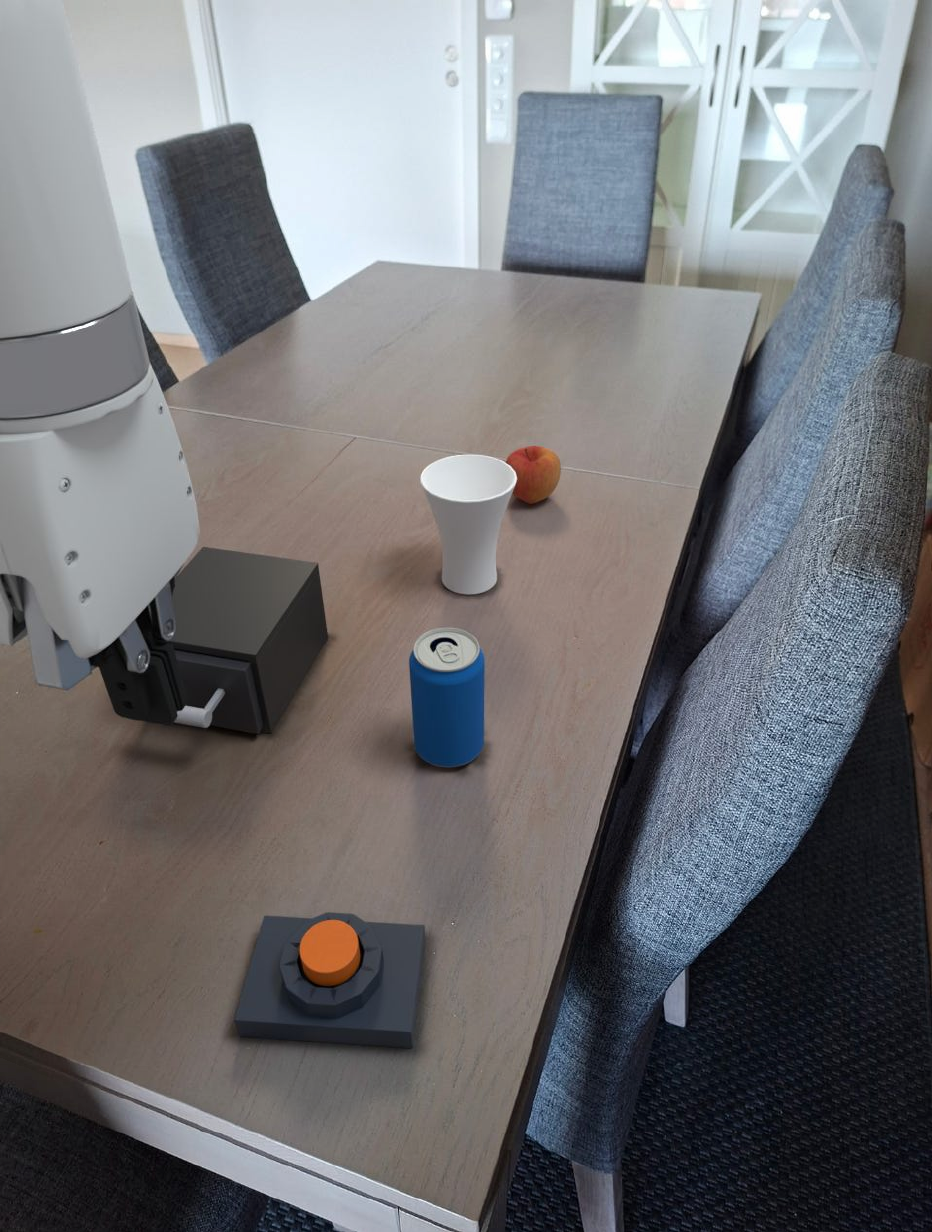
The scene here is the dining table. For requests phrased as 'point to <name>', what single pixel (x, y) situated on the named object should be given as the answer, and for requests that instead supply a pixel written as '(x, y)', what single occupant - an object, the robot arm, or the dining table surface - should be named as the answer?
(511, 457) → the apple
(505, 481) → the cup
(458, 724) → the beverage can
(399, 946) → the control block
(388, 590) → the dining table surface
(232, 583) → the black cabinet
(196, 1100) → the dining table surface
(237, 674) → the drawer
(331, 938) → the button
